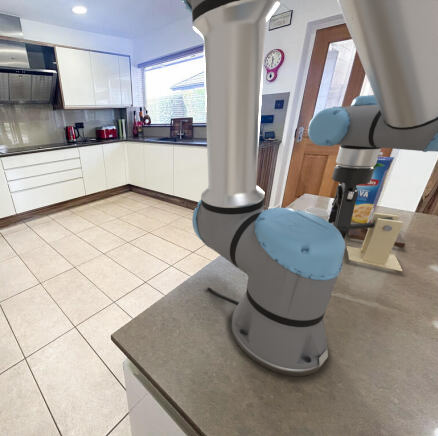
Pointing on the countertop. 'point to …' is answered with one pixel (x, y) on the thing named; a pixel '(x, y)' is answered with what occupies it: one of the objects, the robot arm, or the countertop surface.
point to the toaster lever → (363, 224)
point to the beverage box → (371, 191)
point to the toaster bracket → (379, 243)
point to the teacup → (318, 212)
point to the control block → (362, 233)
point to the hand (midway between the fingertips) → (331, 241)
